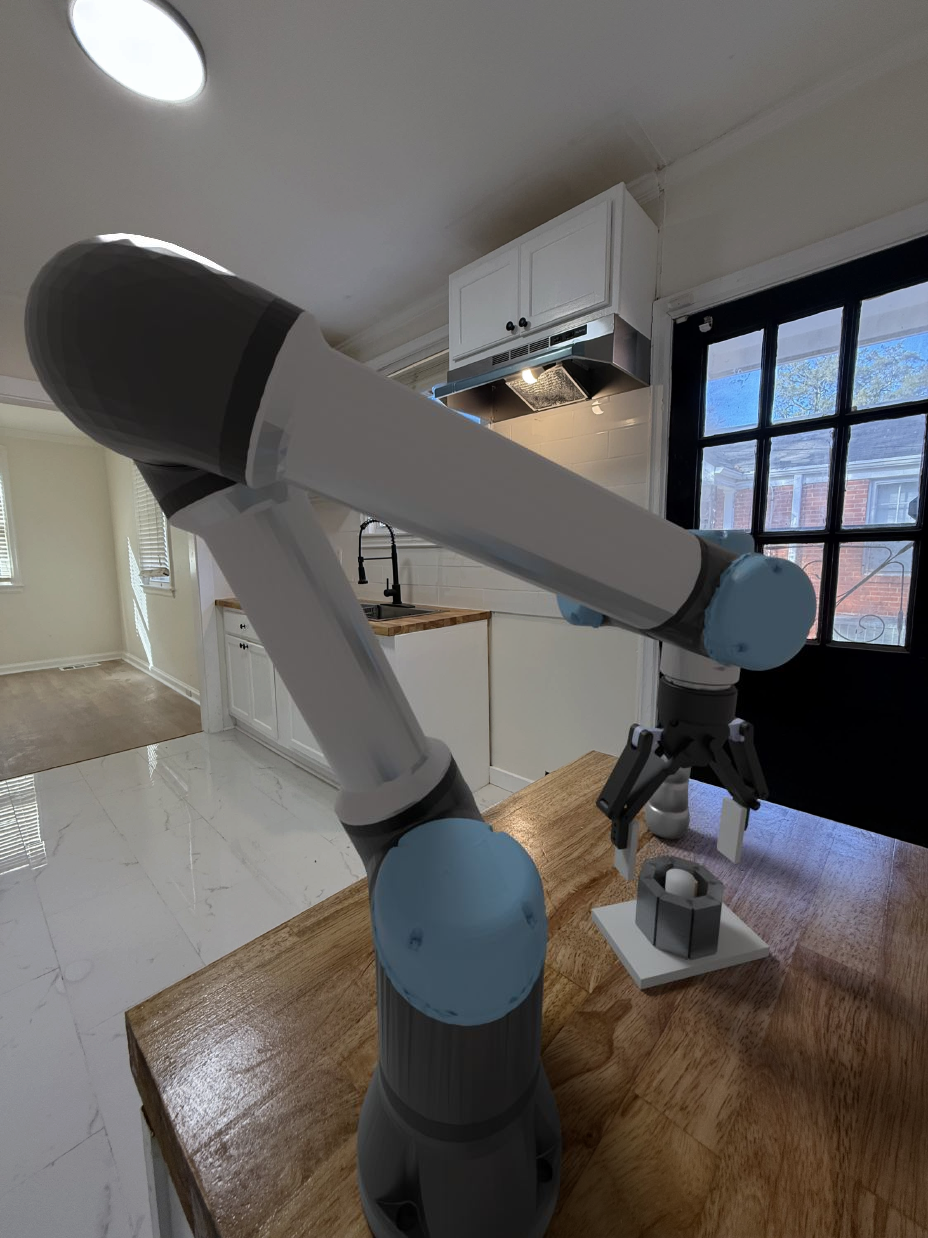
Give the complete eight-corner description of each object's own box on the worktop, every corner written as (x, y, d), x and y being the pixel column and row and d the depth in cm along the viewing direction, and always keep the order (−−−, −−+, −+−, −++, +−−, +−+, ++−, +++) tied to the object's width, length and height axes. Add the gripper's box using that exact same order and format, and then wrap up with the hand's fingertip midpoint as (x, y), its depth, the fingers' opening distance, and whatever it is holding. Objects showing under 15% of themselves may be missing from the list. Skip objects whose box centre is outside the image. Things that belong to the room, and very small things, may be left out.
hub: (668, 966, 53) (673, 915, 52) (622, 908, 61) (625, 863, 60) (736, 949, 55) (741, 899, 54) (683, 895, 63) (687, 851, 62)
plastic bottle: (638, 835, 77) (646, 710, 74) (650, 815, 83) (658, 698, 79) (683, 850, 74) (694, 720, 70) (692, 828, 79) (703, 706, 76)
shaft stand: (640, 989, 51) (645, 924, 50) (591, 917, 61) (594, 861, 59) (768, 956, 55) (775, 895, 54) (703, 894, 65) (708, 840, 64)
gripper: (610, 697, 46) (593, 905, 49) (824, 684, 52) (796, 869, 56) (572, 674, 53) (560, 858, 57) (764, 666, 60) (742, 831, 63)
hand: (677, 864), depth 56 cm, fingers open, 13 cm apart
